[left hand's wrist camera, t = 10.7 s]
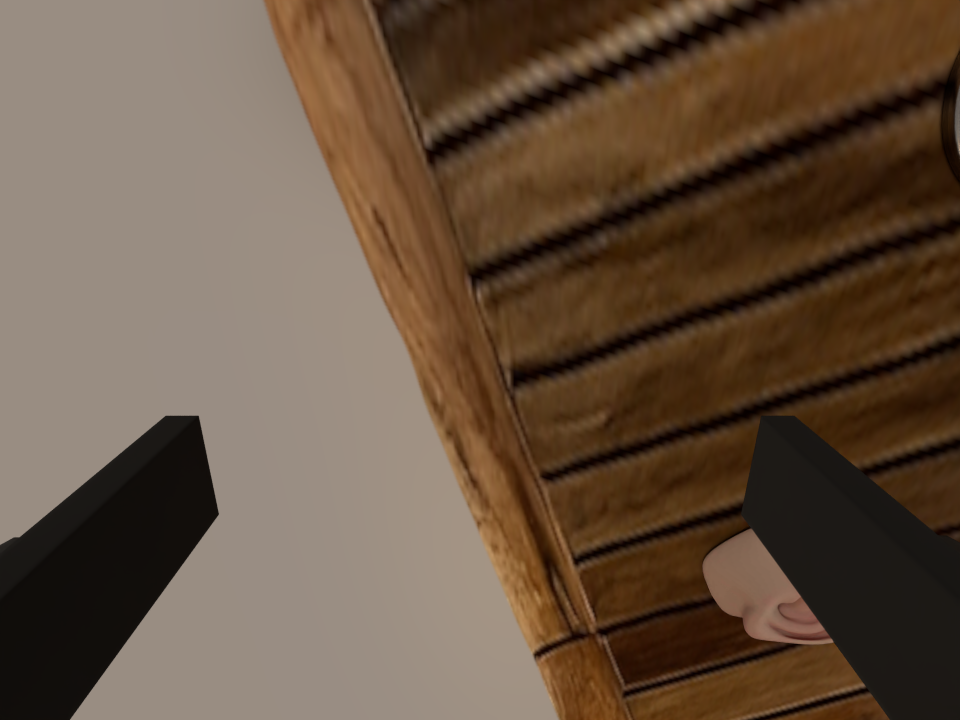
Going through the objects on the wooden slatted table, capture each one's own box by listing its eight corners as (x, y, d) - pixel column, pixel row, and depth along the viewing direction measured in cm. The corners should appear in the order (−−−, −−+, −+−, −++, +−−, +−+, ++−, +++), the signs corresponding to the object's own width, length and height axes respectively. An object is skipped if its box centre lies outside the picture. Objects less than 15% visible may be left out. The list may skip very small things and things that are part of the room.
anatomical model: (695, 614, 43) (810, 520, 40) (678, 577, 47) (782, 488, 43) (804, 689, 46) (919, 607, 43) (780, 649, 49) (884, 570, 46)
